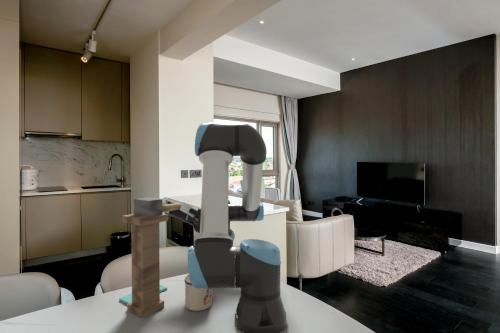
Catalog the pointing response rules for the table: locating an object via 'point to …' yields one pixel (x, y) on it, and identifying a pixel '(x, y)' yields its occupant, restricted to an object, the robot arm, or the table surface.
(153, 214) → the mallet
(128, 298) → the mat
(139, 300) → the stand
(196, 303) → the teacup with lid
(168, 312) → the table surface
